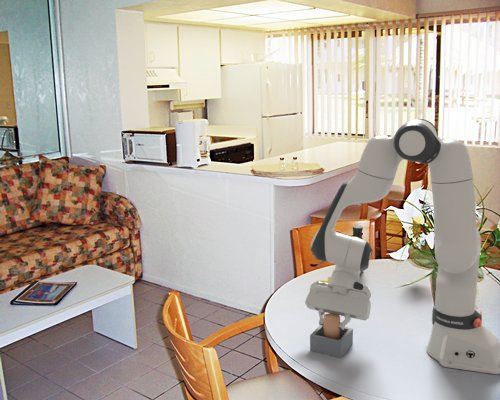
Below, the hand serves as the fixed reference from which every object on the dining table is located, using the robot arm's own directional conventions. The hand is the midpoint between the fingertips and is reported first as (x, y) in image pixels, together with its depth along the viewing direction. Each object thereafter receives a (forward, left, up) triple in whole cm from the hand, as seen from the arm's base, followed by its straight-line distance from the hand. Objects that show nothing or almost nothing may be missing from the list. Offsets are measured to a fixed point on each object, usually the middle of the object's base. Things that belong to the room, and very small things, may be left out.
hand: (331, 327), depth 168 cm
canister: (0, -1, -4) cm, 4 cm away
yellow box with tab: (+15, -42, -8) cm, 45 cm away
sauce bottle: (+15, -66, -7) cm, 68 cm away
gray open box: (0, -1, -7) cm, 7 cm away
